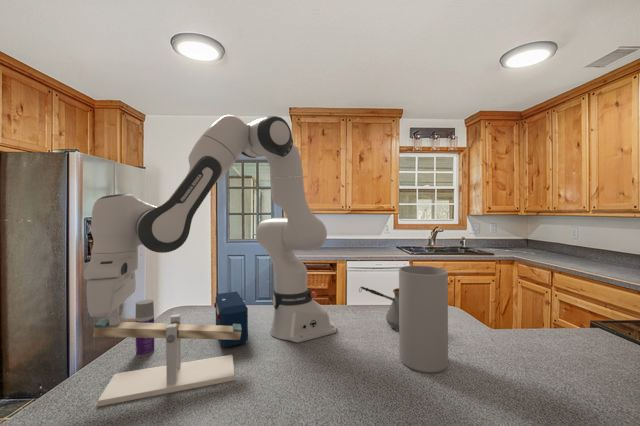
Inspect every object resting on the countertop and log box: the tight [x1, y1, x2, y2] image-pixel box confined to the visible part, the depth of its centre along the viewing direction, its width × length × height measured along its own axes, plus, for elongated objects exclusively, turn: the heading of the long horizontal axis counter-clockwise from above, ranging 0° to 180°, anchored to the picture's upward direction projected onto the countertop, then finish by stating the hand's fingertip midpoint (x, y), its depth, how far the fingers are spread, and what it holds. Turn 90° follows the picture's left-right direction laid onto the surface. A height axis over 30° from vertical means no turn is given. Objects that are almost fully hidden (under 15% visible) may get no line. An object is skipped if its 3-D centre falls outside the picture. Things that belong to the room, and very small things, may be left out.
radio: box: [213, 291, 249, 348], centre depth 97 cm, size 21×9×20 cm, turn 24°
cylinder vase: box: [398, 265, 449, 374], centre depth 79 cm, size 12×12×25 cm
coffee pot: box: [358, 286, 399, 331], centre depth 102 cm, size 21×12×15 cm, turn 98°
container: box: [134, 299, 155, 358], centre depth 85 cm, size 5×5×15 cm
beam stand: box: [97, 313, 236, 407], centre depth 72 cm, size 28×11×15 cm, turn 109°
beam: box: [92, 318, 242, 340], centre depth 72 cm, size 32×4×3 cm, turn 109°
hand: (115, 323), depth 68 cm, fingers closed
